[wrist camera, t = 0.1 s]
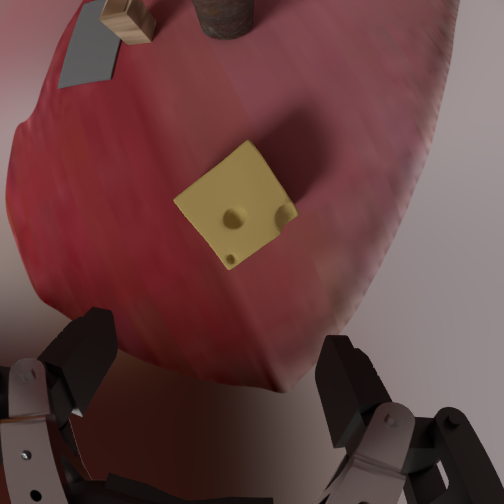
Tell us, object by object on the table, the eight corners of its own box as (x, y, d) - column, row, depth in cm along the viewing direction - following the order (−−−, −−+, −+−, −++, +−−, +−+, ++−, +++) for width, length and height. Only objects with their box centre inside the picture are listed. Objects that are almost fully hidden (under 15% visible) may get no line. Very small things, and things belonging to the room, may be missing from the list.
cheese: (293, 205, 37) (309, 219, 28) (230, 249, 39) (225, 277, 30) (249, 143, 35) (250, 135, 25) (185, 191, 36) (164, 200, 27)
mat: (84, 4, 24) (83, 4, 24) (137, -9, 25) (136, -10, 25) (58, 88, 30) (57, 88, 30) (111, 79, 30) (110, 78, 30)
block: (133, 24, 28) (106, -4, 18) (156, 21, 28) (134, -10, 18) (127, 44, 29) (97, 19, 19) (151, 42, 29) (125, 12, 19)
